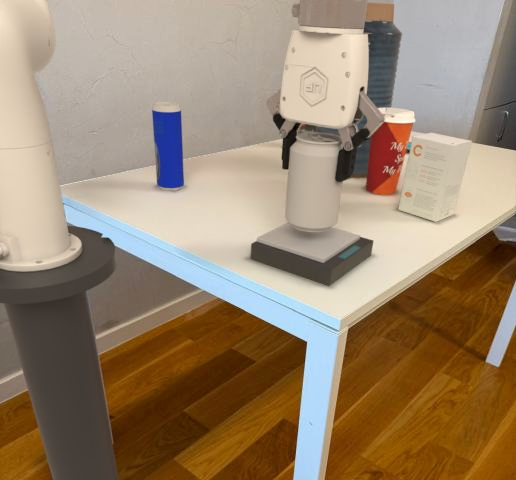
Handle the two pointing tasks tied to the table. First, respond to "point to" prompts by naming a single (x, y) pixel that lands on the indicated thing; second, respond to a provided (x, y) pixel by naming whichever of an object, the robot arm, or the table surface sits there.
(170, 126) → the beverage can
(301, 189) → the can
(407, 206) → the small box
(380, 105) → the vase
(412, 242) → the table surface
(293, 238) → the scale
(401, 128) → the coffee cup
